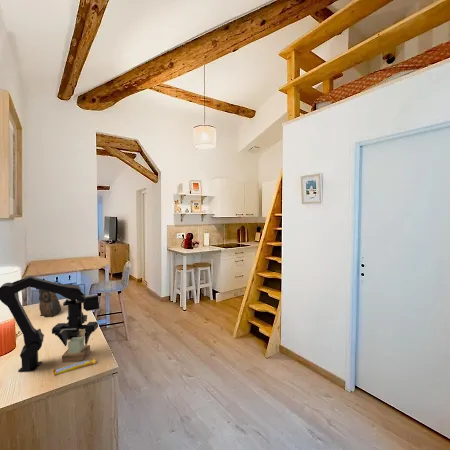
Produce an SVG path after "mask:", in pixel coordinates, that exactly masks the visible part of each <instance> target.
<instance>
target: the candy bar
mask: <svg viewBox="0 0 450 450" xmlns="http://www.w3.org/2000/svg"><path fill="white" fill-rule="evenodd" d="M96 363H97V361H96V358H92V359H88V360H83V361H78V362H77V363H73V364H69V365H66V366H63V367H60V368H54V370H52V373H53V376H58V375H62V374H65V373H68V372H71V371H75V370H79V369H83V368H85V367H86V368H87V367H89V366H92V365H93V364H96Z"/></svg>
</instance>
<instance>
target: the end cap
mask: <svg viewBox="0 0 450 450" xmlns="http://www.w3.org/2000/svg"><path fill="white" fill-rule="evenodd" d="M65 323H66V324H67V326H68V322H65ZM79 335H80V329H75V330H67V332H66V336H67V340H71V339H72V338H74V337H79Z"/></svg>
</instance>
